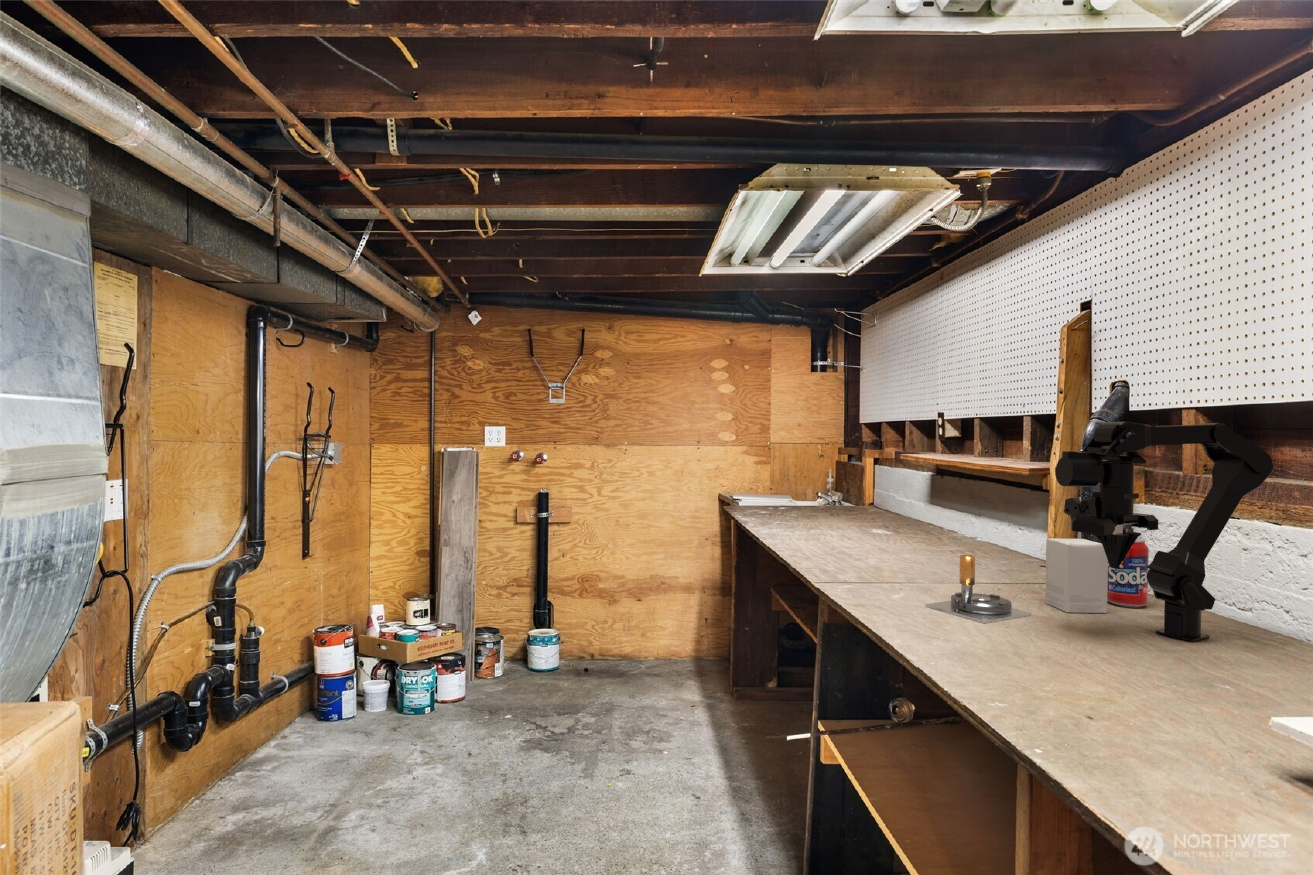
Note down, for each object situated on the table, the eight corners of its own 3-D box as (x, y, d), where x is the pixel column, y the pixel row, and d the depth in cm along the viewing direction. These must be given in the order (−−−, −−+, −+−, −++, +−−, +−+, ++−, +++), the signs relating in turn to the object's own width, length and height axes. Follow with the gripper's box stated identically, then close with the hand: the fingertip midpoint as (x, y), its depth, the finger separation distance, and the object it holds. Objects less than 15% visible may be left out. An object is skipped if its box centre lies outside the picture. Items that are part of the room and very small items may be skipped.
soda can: (1141, 602, 161) (1143, 537, 161) (1152, 610, 154) (1153, 542, 154) (1102, 599, 164) (1103, 535, 164) (1110, 606, 157) (1111, 540, 156)
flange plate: (971, 599, 162) (971, 586, 162) (1031, 615, 149) (1032, 600, 149) (925, 606, 155) (925, 592, 155) (984, 623, 142) (984, 608, 142)
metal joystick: (1023, 609, 150) (1024, 556, 150) (988, 617, 144) (989, 561, 144) (972, 597, 161) (973, 547, 160) (937, 604, 154) (938, 552, 154)
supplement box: (1108, 614, 150) (1110, 544, 150) (1066, 613, 151) (1068, 544, 150) (1083, 603, 160) (1084, 538, 159) (1044, 602, 160) (1045, 537, 159)
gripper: (1102, 482, 146) (1100, 557, 146) (1045, 485, 137) (1043, 564, 137) (1160, 487, 136) (1159, 567, 136) (1103, 489, 127) (1101, 575, 127)
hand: (1114, 568), depth 134 cm, fingers closed
